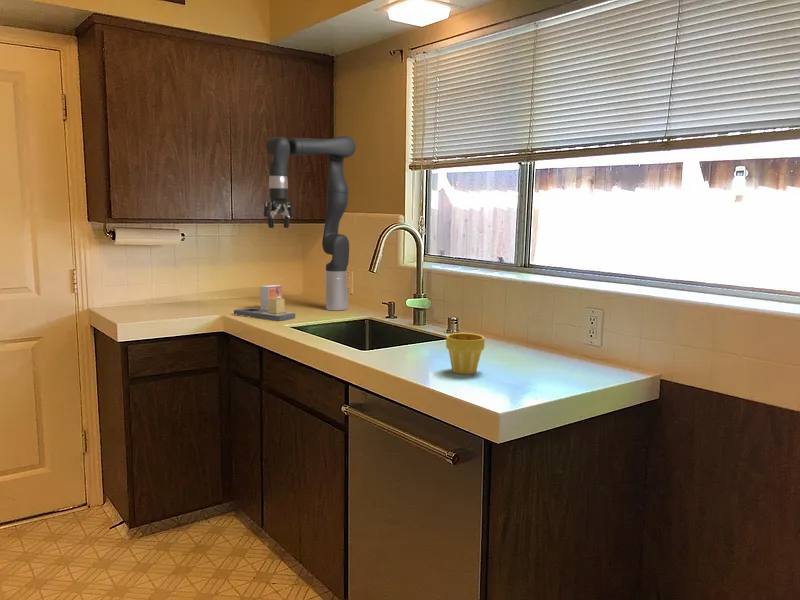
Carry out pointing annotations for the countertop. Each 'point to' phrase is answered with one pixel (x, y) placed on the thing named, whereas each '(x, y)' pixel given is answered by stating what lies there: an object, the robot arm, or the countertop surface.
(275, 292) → the small box
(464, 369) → the plant pot
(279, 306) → the nut block
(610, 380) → the countertop surface
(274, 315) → the grey slotted board
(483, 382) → the countertop surface
